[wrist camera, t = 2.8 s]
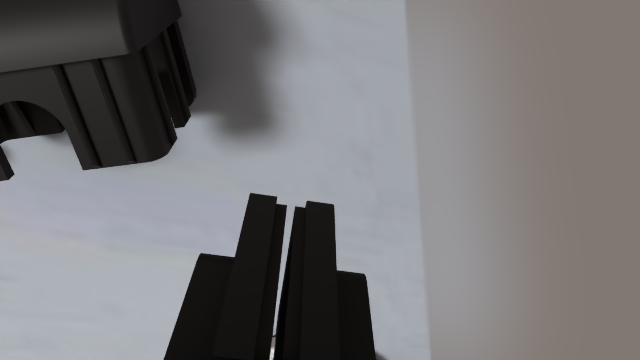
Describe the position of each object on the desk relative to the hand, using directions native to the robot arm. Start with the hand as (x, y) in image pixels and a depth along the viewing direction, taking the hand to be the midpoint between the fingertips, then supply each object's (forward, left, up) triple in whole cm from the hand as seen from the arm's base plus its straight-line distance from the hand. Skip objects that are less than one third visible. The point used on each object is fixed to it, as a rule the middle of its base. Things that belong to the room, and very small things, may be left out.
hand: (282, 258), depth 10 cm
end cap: (0, +10, -14) cm, 17 cm away
